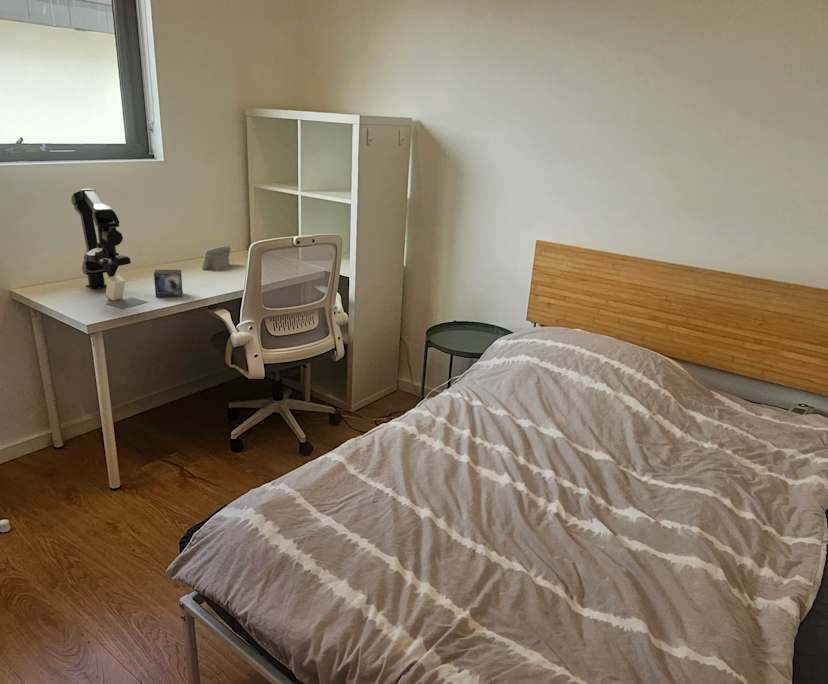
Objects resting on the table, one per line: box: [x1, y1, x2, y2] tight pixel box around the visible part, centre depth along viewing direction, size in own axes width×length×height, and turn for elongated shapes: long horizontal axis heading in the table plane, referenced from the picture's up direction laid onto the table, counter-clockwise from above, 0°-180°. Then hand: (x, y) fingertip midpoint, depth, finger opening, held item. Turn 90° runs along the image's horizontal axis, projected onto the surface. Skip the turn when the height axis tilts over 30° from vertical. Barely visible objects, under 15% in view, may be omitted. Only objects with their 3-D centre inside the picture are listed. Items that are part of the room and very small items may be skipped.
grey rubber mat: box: [105, 296, 148, 310], centre depth 245 cm, size 10×12×1 cm
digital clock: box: [201, 245, 231, 272], centre depth 303 cm, size 16×9×11 cm, turn 141°
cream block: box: [105, 274, 126, 302], centre depth 246 cm, size 4×4×9 cm
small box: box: [153, 269, 184, 298], centre depth 257 cm, size 11×6×10 cm, turn 106°
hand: (111, 278), depth 246 cm, fingers closed
